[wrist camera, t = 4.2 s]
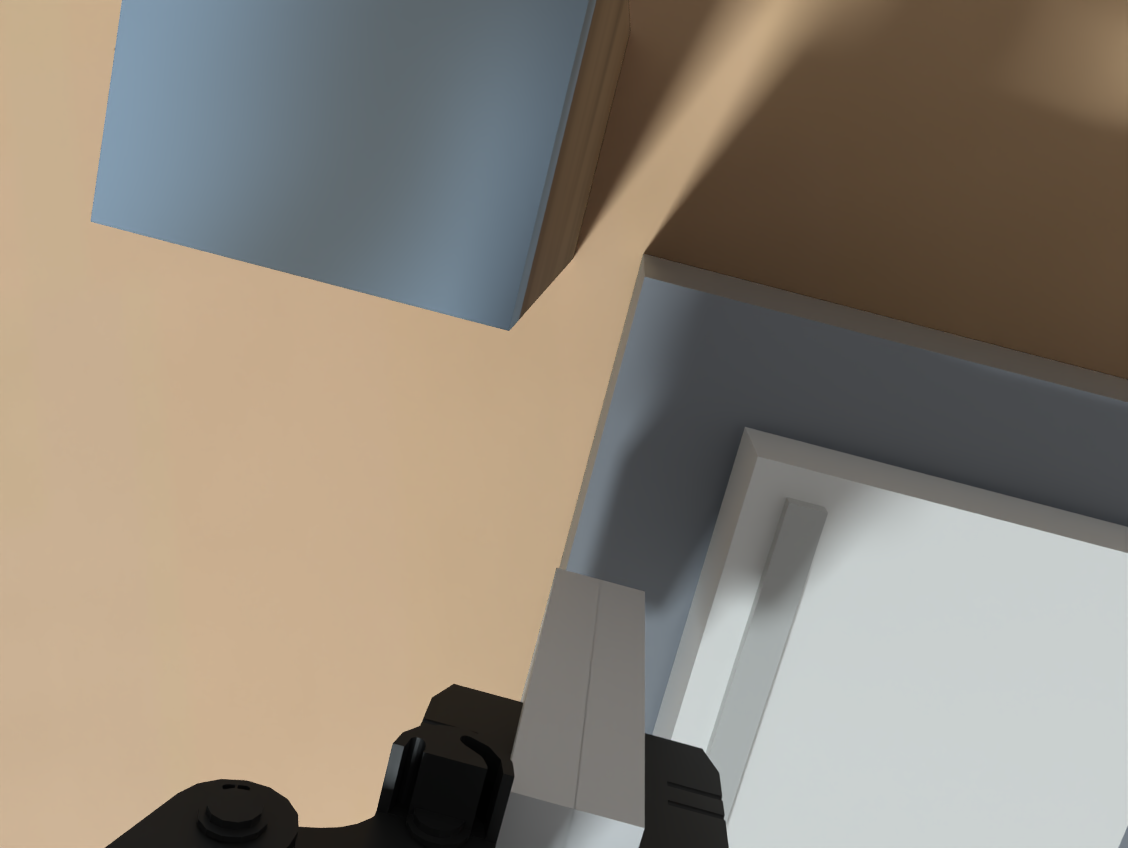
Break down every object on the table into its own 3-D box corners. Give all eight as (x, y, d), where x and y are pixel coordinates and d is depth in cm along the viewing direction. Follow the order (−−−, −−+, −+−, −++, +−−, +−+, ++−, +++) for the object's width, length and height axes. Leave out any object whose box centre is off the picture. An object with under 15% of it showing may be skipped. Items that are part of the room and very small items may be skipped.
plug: (359, 202, 24) (90, 221, 12) (405, -28, 23) (157, -251, 11) (572, 258, 24) (509, 330, 12) (630, 30, 23) (620, -132, 11)
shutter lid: (623, 828, 20) (622, 910, 18) (745, 426, 18) (760, 461, 16) (1007, 930, 20) (1054, 1025, 18) (1169, 537, 18) (1243, 588, 16)
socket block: (518, 723, 26) (483, 876, 21) (643, 253, 24) (644, 276, 18) (1101, 878, 26) (1232, 1076, 20) (1296, 423, 23) (1513, 503, 18)
